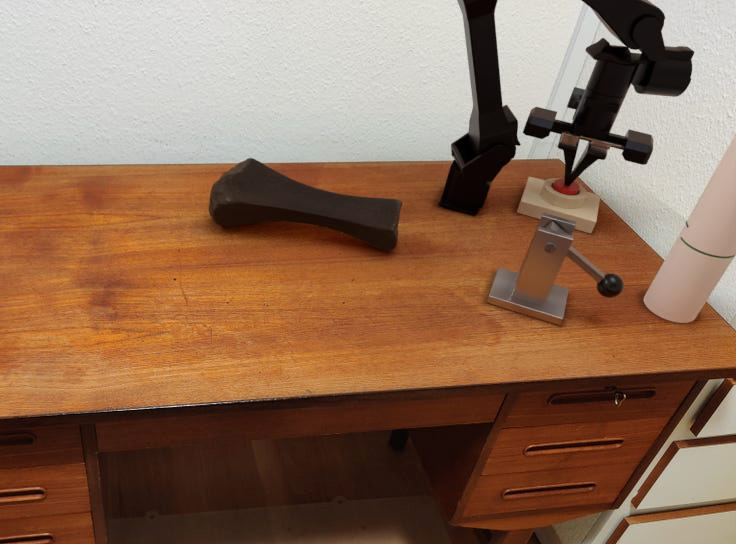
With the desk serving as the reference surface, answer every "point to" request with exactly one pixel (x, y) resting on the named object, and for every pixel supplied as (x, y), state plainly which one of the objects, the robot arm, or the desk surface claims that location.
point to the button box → (559, 203)
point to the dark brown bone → (300, 205)
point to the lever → (594, 270)
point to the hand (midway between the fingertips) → (566, 184)
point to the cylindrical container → (699, 249)
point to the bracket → (537, 275)
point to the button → (565, 187)
